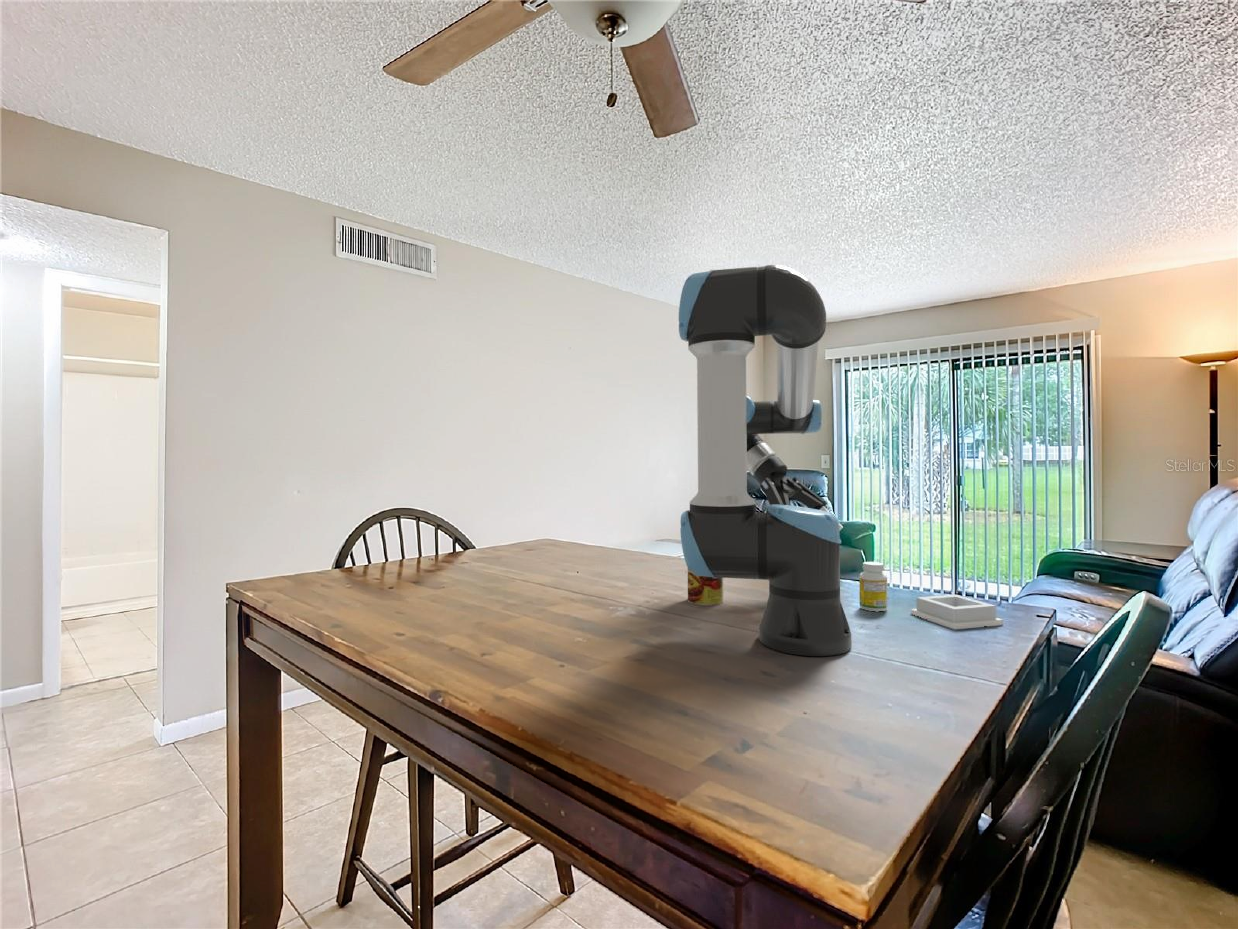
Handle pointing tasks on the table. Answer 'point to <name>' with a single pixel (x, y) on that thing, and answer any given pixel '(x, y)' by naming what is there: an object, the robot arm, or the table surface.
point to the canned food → (704, 590)
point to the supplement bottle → (873, 587)
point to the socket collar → (956, 612)
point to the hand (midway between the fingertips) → (824, 534)
